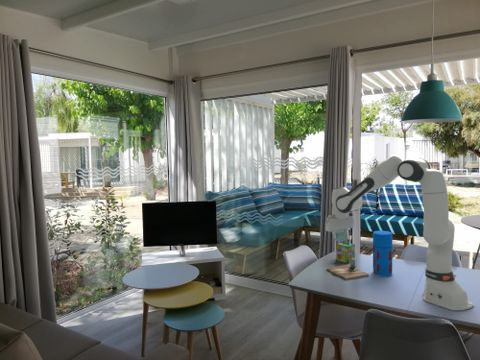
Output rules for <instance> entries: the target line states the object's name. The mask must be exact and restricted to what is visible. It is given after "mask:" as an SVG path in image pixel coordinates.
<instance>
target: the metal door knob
mask: <svg viewBox="0 0 480 360" xmlns="http://www.w3.org/2000/svg"><path fill="white" fill-rule="evenodd" d="M349 265H350V267H349V269H348V270H349V271H357V269H358V268H357V266H356V259H354V258H350V263H349Z"/></svg>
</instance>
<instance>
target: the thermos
mask: <svg viewBox="0 0 480 360" xmlns="http://www.w3.org/2000/svg"><path fill="white" fill-rule="evenodd" d="M372 272H373V274H374V275H375V276H377V277H386V278H388V277H391V276H393V232H391V231H387V230H375V231H373V233H372Z"/></svg>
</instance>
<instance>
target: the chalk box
mask: <svg viewBox="0 0 480 360" xmlns="http://www.w3.org/2000/svg"><path fill="white" fill-rule="evenodd" d="M335 249H336V252H335V253H336V257H335V258H336V259H335V261H336V262H341V263H345V264H350V258H354V259H355V257H356V244H355V243H351V242H350V239H348V238H347V241H343V242H339V243H337V244H336V248H335ZM355 260H356V259H355Z"/></svg>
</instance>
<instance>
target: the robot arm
mask: <svg viewBox="0 0 480 360" xmlns="http://www.w3.org/2000/svg"><path fill="white" fill-rule="evenodd" d="M398 177H400V178H401V179H403V180H404V181H408V182H413V183H419V184H420V187H421V195H422V196H421V197H422V204H423V231H422V236H423V239H424V241H425V242H426V243H427V245H428V246H427V249H426V250H427V251H426V267H425V271H424V276H425V284H424V290H423V293H422V301H425V302H428V303H430V304H433V305H436V306H439V307H440V308H441V307H442V308H444V309H447V310H450V311H465V310H469V309H472V308H473V307H474V303H473V302H471V301H470V300H468V294H467V291H466V290H465V289H464V288H463V287H462V286H461V285H460V284H459V283H458V282H457V281H456V279H455V278H457V274H454V272H453V270H452V268H453V267H452V265H453V264H452V262H453V261H452V260H453V258H452V257H453V251H454V250H453V249H454V243H455V241H454V240H455V224H454V223H453V222H452V221H451V220H449V211H450V205H449V197H448V189H447V184H446V179H445V177H444V173H443V172H441V171H440V170H438V169H431V165H430V163H429V162H428V161H427V160H426V159H424V158H420V157H419V158H416V157H413V158H412V157H411V158H409V159H408V158H407V159H403V158H402V157H400V156H399V155H390V156H389V157H388V158H386V159H383V161H382V162H380V164H378V165H377V166H376V167H375V168H374V169H373V170H372V171H371V172H370V173H369V174H368V175H367V176H366V177H365V178H363V180H361V181H360V182H359V183H358V184H357V185H355V186H354V187H352V189H351V190H349V189H348V188H346V187H345V186H341V187H336V188H334V189H332V192H331V204H332V207H331V215H328V216H326V219H325V228H324V229H325V231H326V232H329V233H332V235H333V236H332V238H333V237H334V238H337V235H336V231H339V230H343V232H345V234H348V230H349V229H353V228H354V226H355V219H354V212H352V211H356V210H359V209H361V208H362V206H363V204H364V199H363V196H365V195H366V194H367V193H369V192H371V191H372V192H373V191H375V190H379V189H382V188H384V187H386V186H388V185H389V184H391V183H392V182H394V180H396V178H398Z"/></svg>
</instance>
